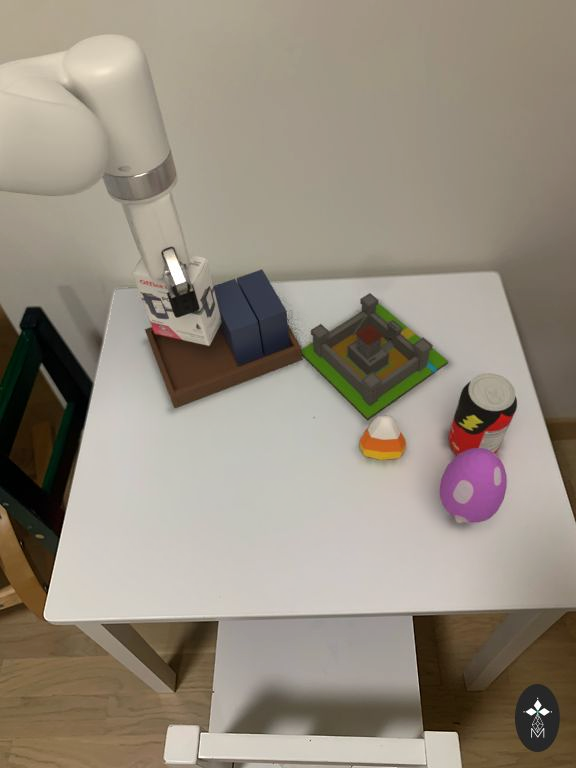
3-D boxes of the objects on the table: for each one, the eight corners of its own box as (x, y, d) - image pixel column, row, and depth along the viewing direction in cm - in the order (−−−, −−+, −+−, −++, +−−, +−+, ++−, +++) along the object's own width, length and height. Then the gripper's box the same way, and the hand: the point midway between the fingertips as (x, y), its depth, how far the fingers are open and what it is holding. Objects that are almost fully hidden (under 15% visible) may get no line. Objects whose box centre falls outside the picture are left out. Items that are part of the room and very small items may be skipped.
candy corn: (358, 459, 76) (359, 427, 70) (359, 439, 78) (361, 406, 72) (405, 463, 76) (411, 430, 69) (405, 442, 77) (411, 409, 71)
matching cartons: (238, 367, 86) (229, 331, 79) (217, 324, 91) (208, 287, 84) (290, 347, 87) (286, 310, 80) (267, 306, 92) (262, 268, 85)
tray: (174, 408, 83) (170, 397, 81) (149, 341, 91) (144, 329, 88) (302, 359, 87) (301, 347, 84) (267, 298, 94) (266, 286, 92)
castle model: (299, 353, 87) (296, 319, 81) (376, 304, 92) (379, 268, 86) (367, 420, 80) (369, 389, 74) (447, 363, 84) (456, 329, 78)
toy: (492, 546, 69) (525, 490, 57) (433, 545, 69) (454, 489, 57) (483, 493, 73) (513, 430, 60) (428, 492, 73) (446, 430, 61)
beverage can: (487, 419, 79) (508, 364, 69) (505, 461, 75) (530, 409, 65) (441, 427, 78) (455, 373, 69) (456, 469, 75) (474, 419, 65)
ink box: (153, 335, 82) (128, 272, 72) (168, 309, 84) (146, 245, 75) (210, 347, 80) (192, 285, 70) (223, 320, 82) (208, 256, 73)
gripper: (86, 138, 66) (131, 254, 80) (123, 231, 56) (166, 344, 70) (151, 119, 67) (184, 237, 81) (198, 206, 57) (226, 323, 71)
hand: (175, 287), depth 76 cm, fingers closed on ink box, 9 cm apart
